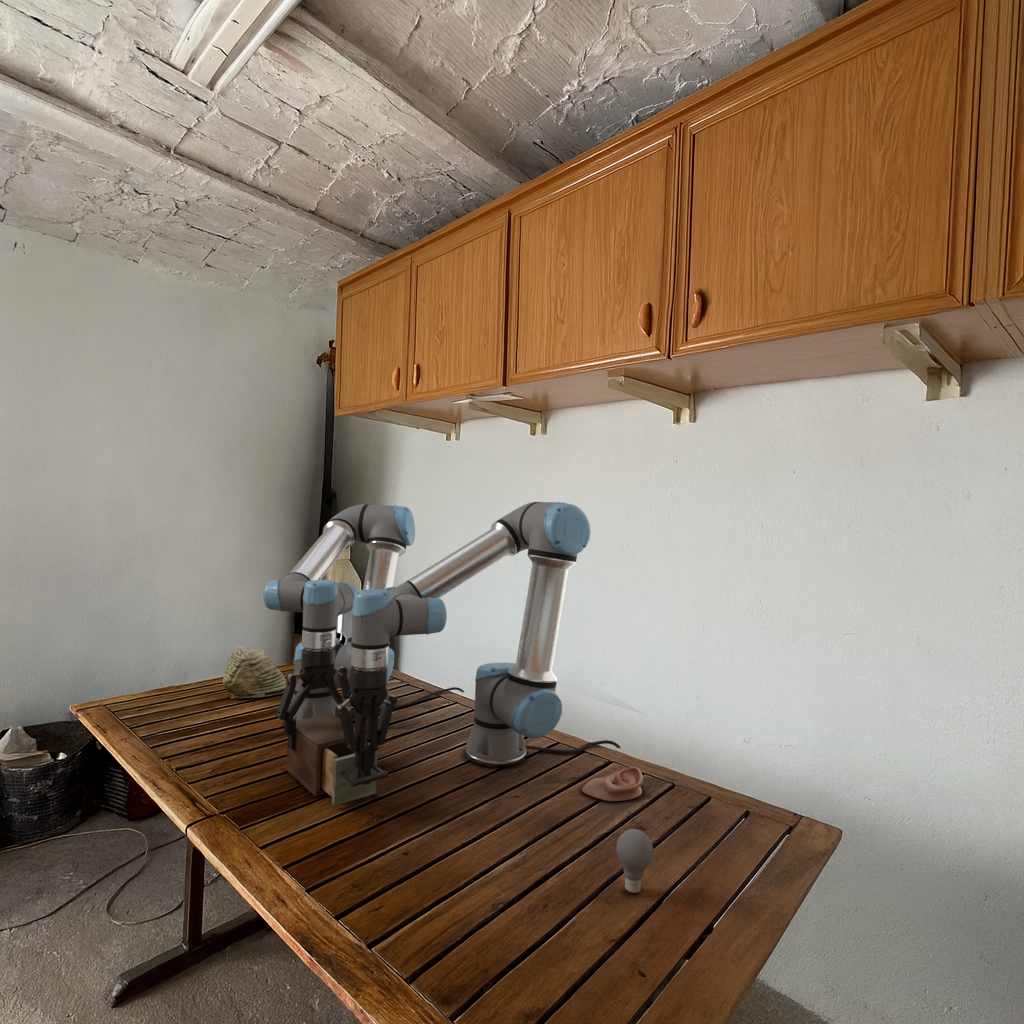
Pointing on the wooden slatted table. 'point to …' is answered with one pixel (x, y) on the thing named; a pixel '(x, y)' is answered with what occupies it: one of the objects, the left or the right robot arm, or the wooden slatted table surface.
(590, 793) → the anatomical model
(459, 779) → the wooden slatted table surface
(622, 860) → the light bulb
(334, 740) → the cabinet
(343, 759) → the drawer
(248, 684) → the fossil
